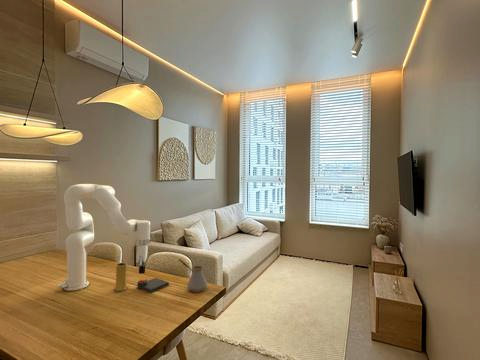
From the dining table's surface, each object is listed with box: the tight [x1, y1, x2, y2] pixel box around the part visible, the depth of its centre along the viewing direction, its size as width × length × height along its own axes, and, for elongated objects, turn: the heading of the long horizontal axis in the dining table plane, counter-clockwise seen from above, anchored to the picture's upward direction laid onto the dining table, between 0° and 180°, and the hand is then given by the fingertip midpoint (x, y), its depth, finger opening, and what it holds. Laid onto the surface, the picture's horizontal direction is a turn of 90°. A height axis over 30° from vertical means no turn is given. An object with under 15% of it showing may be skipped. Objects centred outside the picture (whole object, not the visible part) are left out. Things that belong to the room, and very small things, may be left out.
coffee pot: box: [177, 258, 208, 293], centre depth 155 cm, size 21×12×15 cm, turn 57°
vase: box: [114, 262, 128, 292], centre depth 151 cm, size 6×6×14 cm
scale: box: [137, 277, 170, 294], centre depth 155 cm, size 14×13×4 cm
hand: (141, 273), depth 154 cm, fingers closed
